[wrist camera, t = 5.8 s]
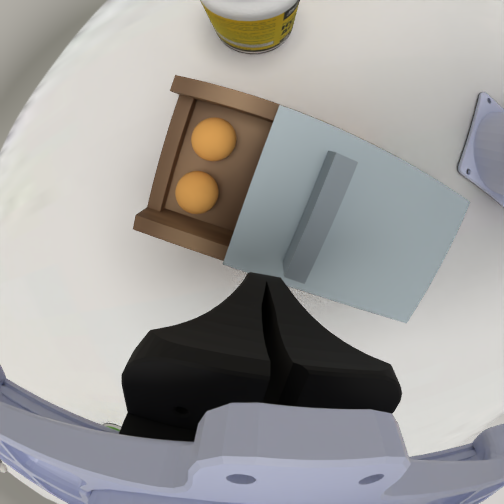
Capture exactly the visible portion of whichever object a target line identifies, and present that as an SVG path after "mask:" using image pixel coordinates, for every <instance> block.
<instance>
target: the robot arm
mask: <svg viewBox="0 0 504 504" xmlns="http://www.w3.org/2000/svg"><path fill="white" fill-rule="evenodd" d="M487 99H488V101H489V103H488V101H487ZM467 169H468V173H466V170H467ZM458 171H459V173H460V174H462V175H463V176H464V177H466V178H467V179H469V180H470V181H471V182H473V183H474V184H475V185H477V186H478V187H479V188H481V189H482V190H483V191H484V192H486V193H487V194H488V195H489V196H491V197H492V198H493V199H494V200H496V201H497V202H498V203H499V204H500V205H502V206H503V207H504V109H503V108H502V107H501V106H500V105H499V104H498V103H497V102H496V101H495V100H494V99H492V98H491V97H490V96H489V95H488V94H487V93H486V92H481V93H480V95H479V99H478V103H477V107H476V111H475V114H474V118H473V122H472V125H471V129H470V132H469V135H468V138H467V142H466V145H465V148H464V151H463V154H462V157H461V160H460V162H459V165H458ZM122 388H123V393H124V397H125V402H126V407H127V411H128V413H127V415H126V418H125V420H124V422H123V425H122V427H121V429H120V431H117V430H114V429H111V428H109V427H106V426H103V425H101V424H98V423H95V422H93V421H90V420H88V419H85V418H83V417H81V416H78V415H76V414H74V413H71V412H69V411H67V410H65V409H63V408H60V407H58V406H56V405H54V404H52V403H50V402H48V401H46V400H44V399H42V398H40V397H38V396H36V395H34V394H33V393H31V392H29V391H27V390H25V389H24V388H22V387H20V386H18V385H17V384H15V383H13V382H12V381H10V380H8V379H7V378H6V376H5V373H4V371H3V369H2V367H1V365H0V459H1V460H2V461H3V462H5V463H6V464H7V465H9V466H10V467H11V468H13V469H14V470H15V471H17V472H18V473H20V474H21V475H23V476H24V477H26V478H27V479H28V480H30V481H31V482H33V483H34V484H36V485H38V486H39V487H41V488H42V489H44V490H46V491H47V492H49V493H51V494H52V495H54V496H56V497H57V498H59V499H61V500H63V501H65V502H66V503H68V504H479V503H481V502H483V501H484V500H485V499H487V498H488V497H489V496H491V495H493V494H494V493H495V492H497V491H498V490H499V489H500V488H502V487H503V486H504V424H500V425H497V426H494V427H490V428H488V429H486V430H484V431H483V432H482V433H480V434H479V435H478V436H477V438H476V439H475V440H474V441H473V443H470V444H466V445H463V446H459V447H455V448H451V449H447V450H443V451H438V452H434V453H429V454H423V455H418V456H412V457H409V456H408V453H407V449H406V446H405V443H404V440H403V437H402V434H401V431H400V428H399V425H398V422H397V421H396V419H395V418H394V416H393V414H392V413H393V412H394V411H395V409H396V408H397V406H398V404H399V402H400V400H401V395H402V391H401V387H400V384H399V382H398V379H397V377H396V375H395V372H394V370H393V368H392V366H391V364H389V363H386V362H384V361H381V360H379V359H377V358H374V357H372V356H369V355H367V354H365V353H363V352H361V351H359V350H358V349H356V348H354V347H352V346H350V345H349V344H347V343H345V342H344V341H342V340H341V339H339V338H338V337H336V336H335V335H334V334H332V333H331V332H329V331H328V330H327V329H326V328H324V327H323V326H322V325H321V324H320V323H319V322H318V321H316V320H315V319H314V318H313V317H312V316H311V315H310V314H309V313H308V312H307V311H306V309H305V308H304V307H303V306H302V305H301V304H300V303H299V301H298V300H297V299H296V298H295V296H294V295H293V294H292V292H291V291H290V290H289V288H288V287H287V286H286V284H285V283H284V281H283V280H282V279H281V277H276V276H270V275H265V274H259V273H253V272H249V273H248V274H247V275H246V277H245V279H244V280H243V282H242V283H241V284H240V286H239V287H238V288H237V289H236V290H235V291H234V292H233V293H232V294H231V295H230V296H229V297H228V298H227V299H225V300H224V301H223V302H222V303H221V304H219V305H218V306H216V307H215V308H213V309H212V310H210V311H209V312H207V313H205V314H203V315H201V316H199V317H197V318H195V319H192V320H190V321H187V322H184V323H181V324H178V325H174V326H169V327H164V328H160V329H154V330H150V331H149V332H148V333H147V335H146V336H145V337H144V338H143V340H142V341H141V342H140V343H139V345H138V346H137V347H136V349H135V350H134V352H133V353H132V355H131V357H130V359H129V361H128V363H127V365H126V367H125V369H124V371H123V373H122Z"/></svg>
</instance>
